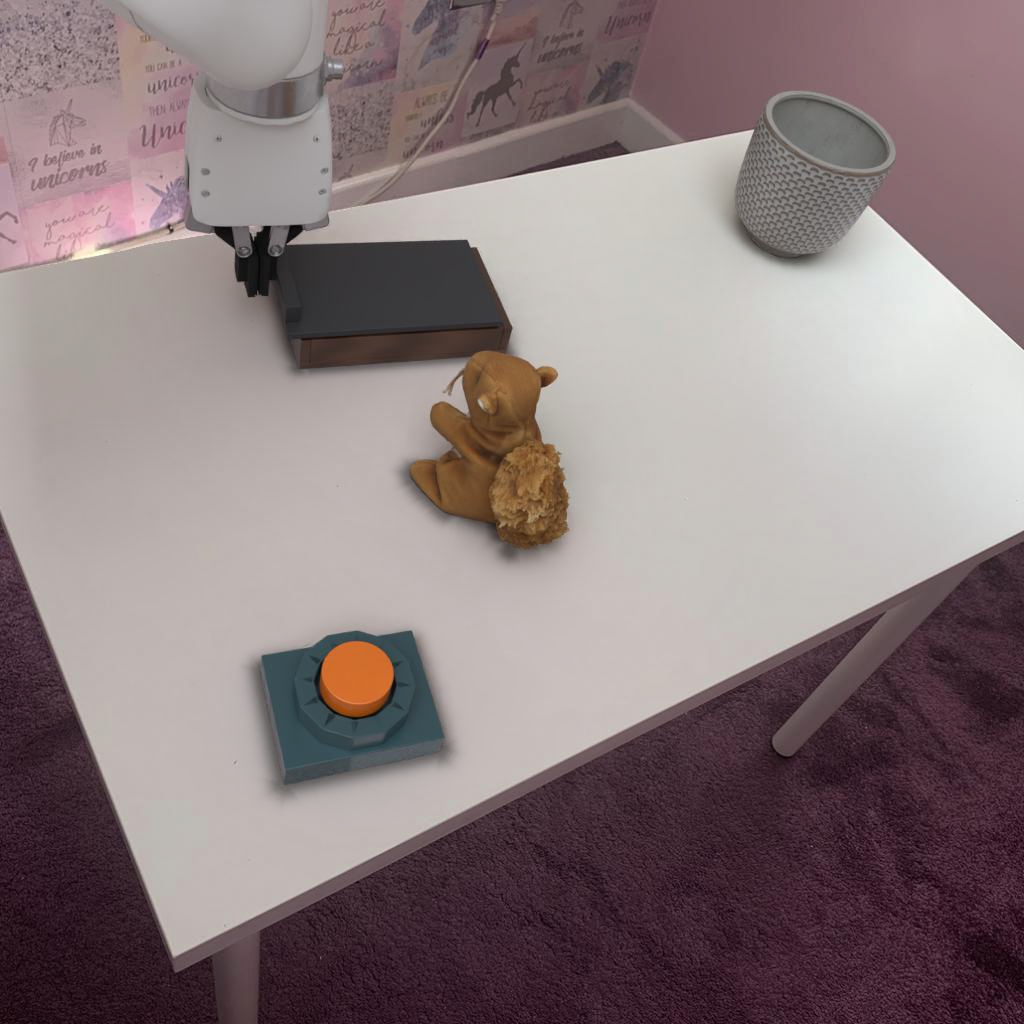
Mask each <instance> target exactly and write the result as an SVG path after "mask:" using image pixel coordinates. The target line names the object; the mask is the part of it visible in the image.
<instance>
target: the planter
mask: <svg viewBox="0 0 1024 1024" xmlns="http://www.w3.org/2000/svg"><path fill="white" fill-rule="evenodd" d="M896 160H897V148H896V145H895V143H894V140H893V138H892V137H891V136H890V134H889V133H888V131H887V130H886V129H885V128H884V127H883V126H882V125H881V123H879V122H878V121H877V120H876V119H874V118H873V117H872V116H870V115H869V114H868V113H866V112H864V111H863V110H861V109H860V108H858V107H856V106H854V105H853V104H850V103H848V102H846V101H844V100H841V99H839V98H837V97H833V96H831V95H828V94H824V93H820V92H815V91H809V90H788V91H782V92H779V93H777V94H775V95H773V96H771V97H770V98H769V99H768V100H767V102H766V103H765V105H764V106H763V108H762V109H761V111H760V113H759V117H758V119H757V121H756V124H755V126H754V129H753V132H752V134H751V137H750V140H749V143H748V145H747V148H746V150H745V153H744V156H743V160H742V163H741V166H740V167H739V168H740V169H739V172H738V175H737V179H736V184H735V191H734V205H735V208H736V209H735V210H736V212H737V214H738V215H737V216H738V217H739V219H740V220H741V222H742V223H743V225H744V227H745V230H746V233H747V235H748V237H749V239H750V240H751V241H752V242H753V243H754V244H755V245H756V246H758V248H760V249H761V250H763V251H765V252H767V253H769V254H771V255H773V256H777V257H780V258H791V259H792V258H798V257H801V256H803V255H810V254H816V253H822V252H823V251H826V250H829V249H831V248H832V247H834V246H835V245H836V244H838V243H839V242H840V241H841V240H842V239H843V238H844V237H845V236H846V235H847V234H848V233H849V232H850V230H851V229H852V228H853V227H854V225H855V224H856V223H857V221H858V220H859V219H860V217H861V216H862V215H863V213H864V212H865V211H866V210H867V207H868V206H869V205H870V203H871V202H872V200H873V199H874V197H875V195H876V194H877V193H878V191H879V190H880V188H881V187H882V185H883V184H884V183H885V181H886V179H887V178H888V176H889V175H890V173H891V172H892V169H893V167H894V165H895V163H896Z"/></svg>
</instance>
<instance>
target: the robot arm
mask: <svg viewBox="0 0 1024 1024" xmlns="http://www.w3.org/2000/svg"><path fill="white" fill-rule="evenodd" d="M96 2H98V3H99V4H100V5H102V6H103V7H104V8H105V9H107V10H108V11H110V12H112V13H113V14H114V15H116V16H118V17H119V18H121V19H122V20H124V22H127V23H128V24H130V25H131V26H133V27H134V28H135V29H137V30H139V31H140V32H141V33H143V34H145V35H147V37H150V38H152V39H153V40H155V41H156V42H158V43H160V44H161V45H163V46H164V47H166V48H167V49H169V50H170V51H172V52H174V53H175V54H177V55H178V56H179V57H181V58H183V60H185V61H187V62H188V63H190V64H191V65H193V66H194V67H196V68H197V69H198V70H199V71H200V72H199V73H198V74H197V75H196V76H194V78H193V82H192V84H191V88H190V93H189V98H188V99H189V100H188V104H187V111H186V120H185V131H184V148H183V149H184V150H183V152H184V153H183V180H184V181H183V182H184V188H185V191H186V192H187V193H188V195H187V199H186V202H185V206H184V209H183V212H182V218H183V222H184V226H185V228H186V230H188V231H190V232H195V233H201V234H202V233H203V234H206V235H207V234H208V235H211V234H214V235H216V236H217V237H218V238H219V239H220V240H222V241H223V242H224V243H225V244H227V245H228V246H230V247H231V248H232V249H234V275H235V279H236V282H237V283H243V284H244V289H245V291H246V295H247V298H256V296H261V297H262V298H263V297H265V298H266V297H269V295H270V281H271V282H272V281H273V280H276V274H277V258H278V256H279V255H281V254H282V253H283V251H284V247H285V245H289V243H290V242H292V241H293V240H294V239H296V238H297V237H298V236H299V235H300V234H302V233H303V231H304V232H309V231H314V230H318V229H323V228H326V227H329V225H330V221H331V220H330V215H329V212H330V210H331V204H332V194H333V130H332V119H331V118H332V116H331V109H330V102H329V95H328V90H327V87H326V85H327V82H329V83H330V82H332V81H333V80H335V81H337V80H339V81H341V80H343V78H344V62H343V60H342V58H332V56H329V55H328V56H327V55H326V53H325V41H326V32H327V21H328V12H329V0H96ZM250 227H261V230H260V231H256V232H255V235H252V232H250Z"/></svg>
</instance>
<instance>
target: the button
mask: <svg viewBox="0 0 1024 1024" xmlns="http://www.w3.org/2000/svg"><path fill="white" fill-rule="evenodd" d="M393 679H394V670H393V666H392V663H391V661H390V659H389V658H388V656H387V655H386V654H385V653H384V652H383V651H382V650H381V649H380V648H378V647H377V646H375V645H373V644H370V643H367V642H362V641H351V642H346V643H343V644H341V645H339V646H337V647H335V648H334V649H333V650H331V651H330V652H329V653H328V655H327V656H326V658H325V659H324V662H323V665H322V669H321V675H320V682H319V687H320V692H321V695H322V697H323V699H324V701H325V702H326V704H327V705H328V706H329V707H330V708H331V709H333V710H334V711H336V712H338V713H340V714H342V715H345V716H349V717H362V716H367V715H370V714H372V713H374V712H376V711H377V710H379V709H380V708H381V707H382V706H383V705H384V704H385V702H386V701H387V699H388V697H389V694H390V690H391V687H392V683H393Z"/></svg>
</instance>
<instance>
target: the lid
mask: <svg viewBox="0 0 1024 1024" xmlns="http://www.w3.org/2000/svg"><path fill="white" fill-rule="evenodd" d="M471 247H472V246H471V245H470V243H469V240H468V239H437V240H435V239H434V240H404V241H403V240H402V241H401V240H400V241H398V240H397V241H371V242H335V243H333V242H329V243H299V244H286V245H285V247H284V251H283V253H282V254H281V255H279V256H278V258H277V274H276V280H273V281H271V284H272V287H273V292H274V294H275V298H276V301H277V306H278V307H279V308H278V309H279V313H280V316H281V319H282V323H283V327H284V330H285V335H286V338H287V340H291V339H299V338H315V337H332V336H348V335H364V334H381V333H397V332H413V331H430V330H446V329H462V328H479V327H495V326H502V324H503V320H502V317H501V315H500V313H499V311H498V308H497V306H496V304H495V301H494V299H493V297H492V295H491V292H490V290H489V288H488V286H487V283H486V281H485V279H484V276H483V274H482V272H481V270H480V267H479V265H478V263H477V261H476V258H475V256H474V254H473V251H472V249H471Z"/></svg>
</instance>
